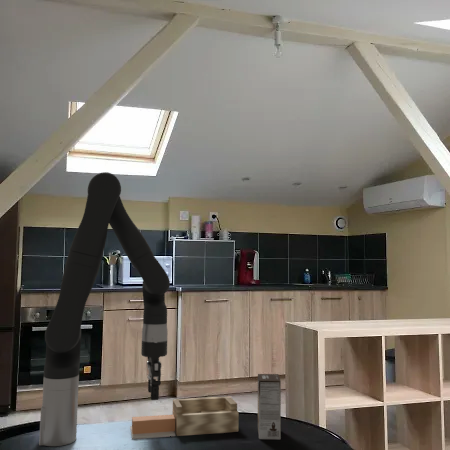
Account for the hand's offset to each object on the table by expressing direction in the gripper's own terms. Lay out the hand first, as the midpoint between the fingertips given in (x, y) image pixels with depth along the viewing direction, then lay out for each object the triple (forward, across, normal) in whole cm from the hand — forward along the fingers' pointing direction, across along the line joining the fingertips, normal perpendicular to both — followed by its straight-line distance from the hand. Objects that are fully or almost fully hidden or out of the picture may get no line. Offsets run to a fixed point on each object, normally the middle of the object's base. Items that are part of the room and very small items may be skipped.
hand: (153, 395), depth 136 cm
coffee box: (+10, +9, +32) cm, 35 cm away
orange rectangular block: (+10, 0, 0) cm, 10 cm away
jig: (+10, 0, +15) cm, 18 cm away
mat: (+10, 0, 0) cm, 10 cm away
